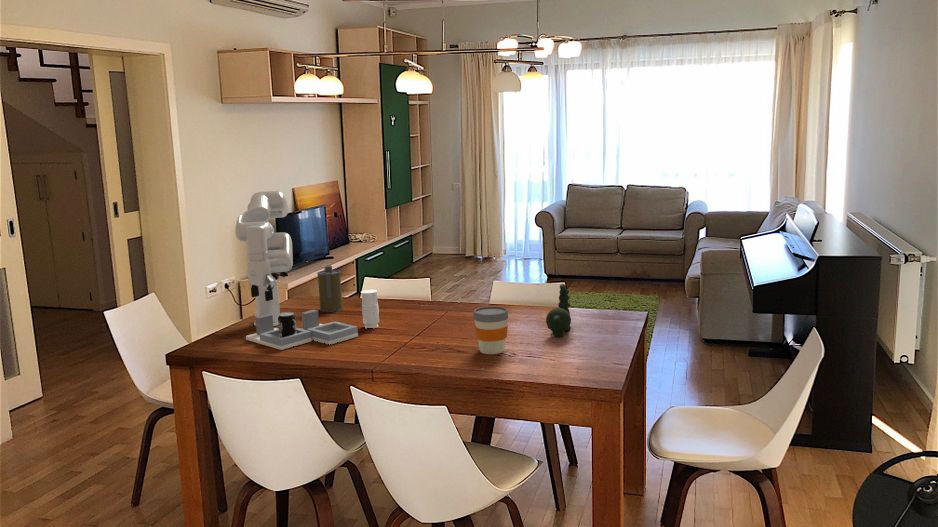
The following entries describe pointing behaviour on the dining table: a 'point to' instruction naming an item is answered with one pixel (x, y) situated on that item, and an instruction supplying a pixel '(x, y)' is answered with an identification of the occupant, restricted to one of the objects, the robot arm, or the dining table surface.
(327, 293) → the canister
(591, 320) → the dining table surface
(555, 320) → the toy figurine
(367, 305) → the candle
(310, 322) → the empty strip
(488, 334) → the reusable coffee cup
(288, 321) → the beverage can
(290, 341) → the grey tray
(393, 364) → the dining table surface
